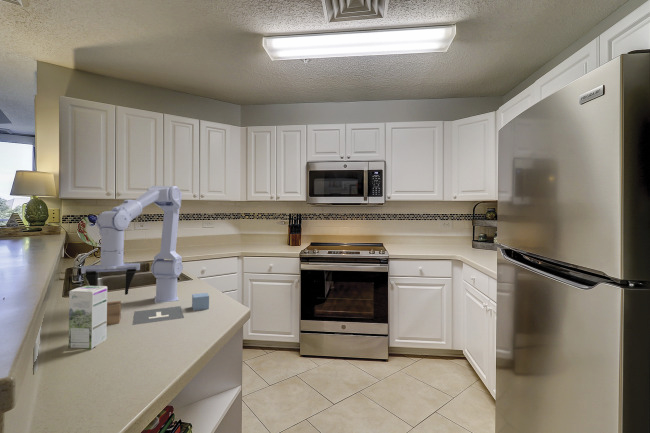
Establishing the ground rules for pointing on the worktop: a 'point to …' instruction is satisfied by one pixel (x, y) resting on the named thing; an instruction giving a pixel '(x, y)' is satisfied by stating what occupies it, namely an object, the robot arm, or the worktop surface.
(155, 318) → the letter mat
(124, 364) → the worktop surface
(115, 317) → the walnut block
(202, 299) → the blue cube
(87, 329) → the syrup box
